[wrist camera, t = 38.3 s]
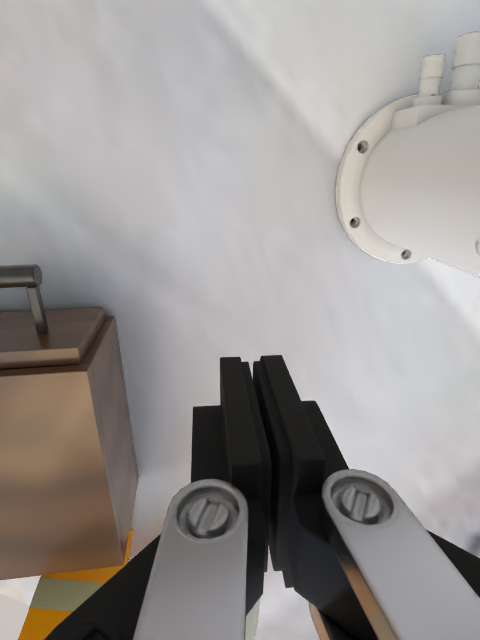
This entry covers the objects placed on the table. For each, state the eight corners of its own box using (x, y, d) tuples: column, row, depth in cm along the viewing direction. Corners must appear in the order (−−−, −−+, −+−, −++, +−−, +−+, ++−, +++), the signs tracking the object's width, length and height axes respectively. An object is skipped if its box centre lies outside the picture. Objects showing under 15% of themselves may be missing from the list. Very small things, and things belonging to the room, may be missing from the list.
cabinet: (-48, 324, 31) (-140, 385, 22) (115, 315, 32) (87, 370, 23) (6, 490, 37) (-49, 586, 29) (138, 477, 39) (123, 565, 30)
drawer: (-71, 254, 28) (-156, 283, 21) (94, 248, 29) (63, 274, 22) (2, 478, 36) (-43, 551, 29) (128, 466, 37) (114, 534, 30)
